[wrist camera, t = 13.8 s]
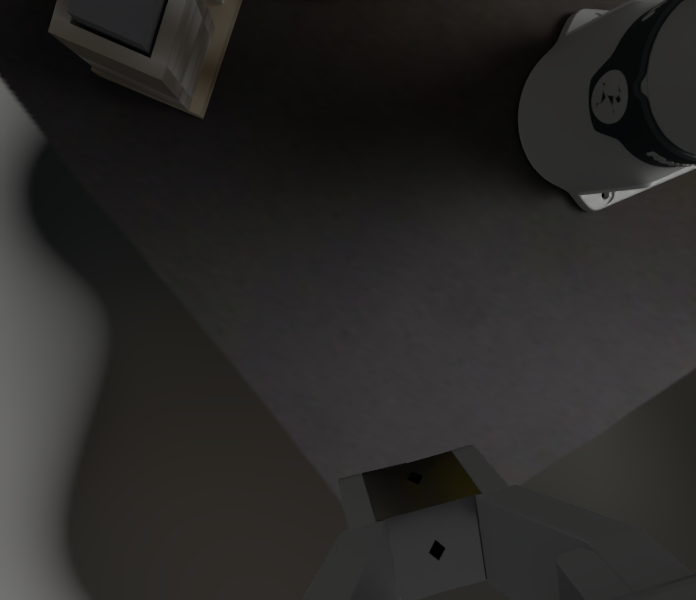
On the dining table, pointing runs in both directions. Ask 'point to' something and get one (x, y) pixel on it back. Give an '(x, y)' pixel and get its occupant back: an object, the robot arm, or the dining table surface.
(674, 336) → the dining table surface
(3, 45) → the dining table surface
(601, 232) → the dining table surface
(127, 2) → the plain button
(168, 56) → the button panel
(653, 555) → the robot arm
